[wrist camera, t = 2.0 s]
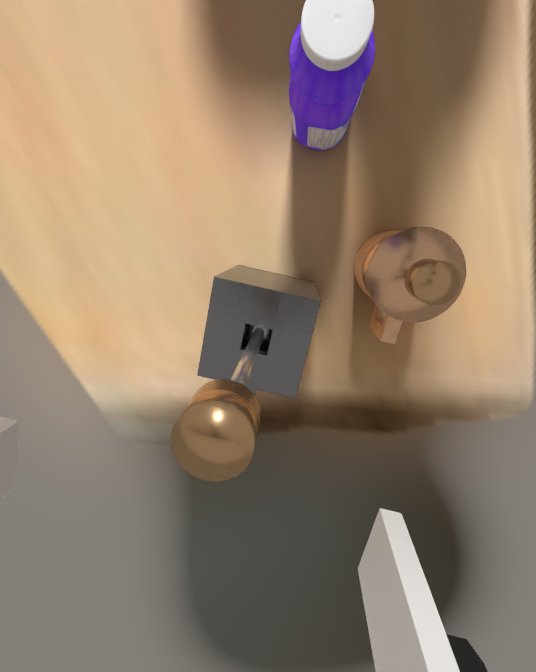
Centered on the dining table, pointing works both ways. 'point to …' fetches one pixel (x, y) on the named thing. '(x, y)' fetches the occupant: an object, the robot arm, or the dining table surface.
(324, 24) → the bottle
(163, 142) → the dining table surface
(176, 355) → the dining table surface
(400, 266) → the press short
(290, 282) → the cube with square hole
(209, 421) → the plunger tall
